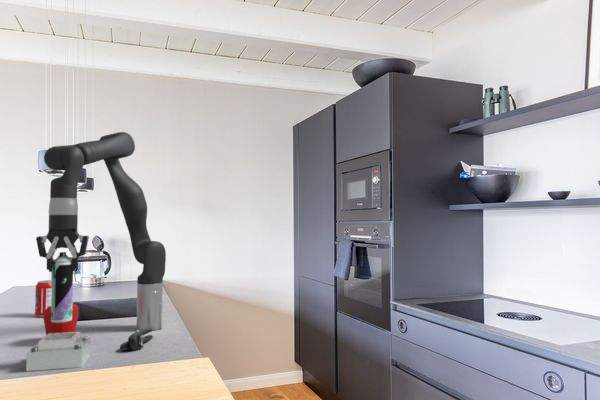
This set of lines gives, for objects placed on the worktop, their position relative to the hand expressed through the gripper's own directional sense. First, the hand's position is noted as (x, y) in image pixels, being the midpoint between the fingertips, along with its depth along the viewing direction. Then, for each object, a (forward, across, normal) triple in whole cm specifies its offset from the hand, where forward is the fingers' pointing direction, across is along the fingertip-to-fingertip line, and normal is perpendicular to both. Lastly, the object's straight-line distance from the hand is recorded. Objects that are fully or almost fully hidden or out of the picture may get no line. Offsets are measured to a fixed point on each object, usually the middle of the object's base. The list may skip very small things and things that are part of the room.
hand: (62, 270), depth 131 cm
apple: (+27, +6, -25) cm, 37 cm away
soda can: (+27, +23, -70) cm, 79 cm away
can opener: (+27, -21, -14) cm, 37 cm away
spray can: (+15, 0, 0) cm, 15 cm away
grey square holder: (+27, 0, 0) cm, 27 cm away
